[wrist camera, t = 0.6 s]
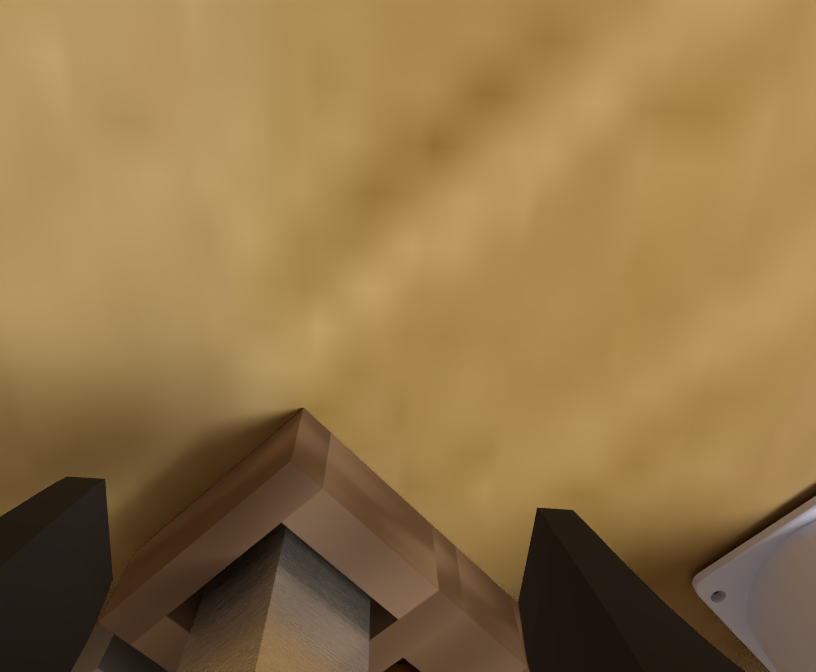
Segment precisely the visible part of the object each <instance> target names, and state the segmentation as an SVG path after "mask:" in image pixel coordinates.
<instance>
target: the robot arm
mask: <svg viewBox="0 0 816 672" xmlns="http://www.w3.org/2000/svg"><path fill="white" fill-rule="evenodd" d="M112 580H113V577H112V564H111V551H110V538H109V525H108V512H107V499H106V487H105V479H96V478H81V477H65V478H63V479H62V480H60V481H58V482H56V483H54V484H53V485H51V486H49V487H48V488H46V489H44V490H43V491H41V492H39V493H38V494H36V495H35V496H33V497H31V498H30V499H28V500H27V501H25V502H23V503H22V504H20V505H19V506H17V507H15V508H14V509H12V510H11V511H9V512H7V513H6V514H4V515H3V516H1V517H0V672H71V670H72V669H73V667H74V665H75V663H76V661H77V659H78V658H79V656H80V654H81V652H82V650H83V648H84V647H85V645H86V643H87V641H88V639H89V637H90V635H91V632H92V630H93V628H94V625H95V623H96V620H97V618H98V616H99V613H100V611H101V608H102V606H103V603H104V600H105V598H106V595H107V593H108V590H109V587H110V585H111V582H112ZM692 586H693V588H694V590H695V591H696V593H697V595H698V596H699V597H700V598H701V599H702V600H703V601H704V602H705V603H706V604H707V605H708V606H709V608H710V609H711V610H712V611H713V612H714V613H715V614H716V615H717V616H718V617H719V618H720V619H721V620H722V621H723V622H724V623H725V624H726V625H727V627H728V628H729V629H730V630H731V631H732V632H733V633H734V634H735V635H736V636H737V637H738V638H739V639H740V640H741V641H742V642H743V643H744V644H745V645H746V647H747V648H748V649H749V650H750V651H751V652H752V653H753V654H754V655H755V656H756V657H757V658H758V659H759V660H760V661H761V662H762V663H763V664H764V665H765V667H766V668H767V669H768V670H769V671H770V672H816V496H815V497H813V498H812V499H810V500H809V501H807V502H806V503H804V504H803V505H801V506H799V507H798V508H796V509H795V510H793V511H792V512H790V513H789V514H787V515H786V516H784V517H783V518H781V519H780V520H778V521H777V522H775V523H774V524H772V525H771V526H769V527H768V528H766V529H765V530H763V531H761V532H760V533H758V534H757V535H755V536H754V537H752V538H751V539H749V540H748V541H746V542H745V543H743V544H742V545H740V546H739V547H737V548H736V549H734V550H733V551H731V552H730V553H728V554H727V555H725V556H723V557H722V558H720V559H719V560H717V561H716V562H714V563H713V564H711V565H710V566H708V567H707V568H705V569H704V570H702V571H701V572H699V573H698V574H697V575H696V576H695V577H694V579H693V581H692ZM717 591H719V592H718V593H716V594H713V593H714V592H717ZM518 604H519V611H520V619H521V626H522V633H523V639H524V646H525V652H526V658H527V663H528V667H529V671H530V672H745V671H744V670H742V669H741V668H740V667H739V666H737V665H736V664H735V663H733V662H732V661H731V660H730V659H728V658H727V657H726V656H725V655H723V654H722V653H721V652H720V651H719V650H717V649H716V648H715V647H714V646H713V645H711V644H710V643H709V642H708V641H707V640H706V639H704V638H703V637H702V636H701V635H700V634H699V633H698V632H697V631H695V630H694V629H693V628H692V627H691V626H690V625H689V624H688V623H686V622H685V621H684V620H683V619H682V618H681V617H680V616H679V615H677V614H676V613H675V612H674V611H673V610H672V609H671V608H670V607H669V606H668V605H667V604H666V603H665V602H663V601H662V600H661V599H660V598H659V597H658V596H657V595H656V594H655V593H654V592H653V591H652V590H651V589H650V588H649V587H648V586H647V585H646V584H645V583H644V582H643V581H642V580H641V579H640V578H639V577H638V576H637V575H636V574H635V573H634V572H633V571H632V570H631V569H630V568H629V567H628V566H627V565H626V564H625V563H624V562H623V561H622V560H621V559H620V558H619V557H618V556H617V555H616V554H615V553H614V552H613V551H612V550H611V549H610V548H609V547H608V546H607V545H606V544H605V543H604V542H603V540H602V539H601V538H600V537H599V536H598V535H597V534H596V533H595V532H594V531H593V530H592V529H591V528H590V527H589V526H588V525H587V524H586V523H585V522H584V521H583V520H582V519H581V518H580V517H579V516H578V515H577V514H576V513H575V512H574V511H573V510H564V509H549V508H537V512H536V517H535V522H534V527H533V532H532V537H531V542H530V547H529V552H528V556H527V561H526V566H525V571H524V576H523V581H522V586H521V591H520V596H519V601H518Z"/></svg>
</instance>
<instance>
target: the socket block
mask: <svg viewBox="0 0 816 672" xmlns="http://www.w3.org/2000/svg"><path fill="white" fill-rule="evenodd" d="M280 523H283V524H284V525H285V526H286V527H287V528H289V529H290V530H291V531H292V532H294V533H295V534H296V535H297V536H298V537H300V538H301V539H302V540H303V541H304V542H306V543H307V544H308V545H309V546H310V547H312V548H313V549H314V550H315V551H316V552H318V553H319V554H320V555H321V556H322V557H324V558H325V559H326V560H327V561H328V562H330V563H331V564H332V565H333V566H334V567H336V568H337V569H338V570H339V571H340V572H342V573H343V574H344V575H345V576H347V577H348V578H349V579H350V580H351V581H353V582H354V583H355V584H356V585H357V586H359V587H360V588H361V589H362V590H363V591H365V592H366V593H367V594H368V595H369V596H370V629H369V667H368V672H383V671H384V670H386V669H387V668H389V667H390V666H392V665H393V664H394V663H396V662H397V661H399V660H400V659H401V658H404V659H406V660H407V661H408V662H409V663H411V664H412V665H413V666H414V667H416V668H417V669H418V670H419V671H421V672H530V671H529V667H528V663H527V658H526V652H525V646H524V639H523V633H522V626H521V619H520V611H519V604H518V603H517V602H516V601H515V600H514V599H512V598H511V597H510V596H509V595H508V594H507V593H506V592H505V591H504V590H503V589H501V588H500V587H499V586H498V585H497V584H496V583H495V582H494V581H493V580H492V579H490V578H489V577H488V576H487V575H486V574H485V573H484V572H483V571H482V570H481V569H480V568H478V567H477V566H476V565H475V564H474V563H473V562H472V561H471V560H470V559H469V558H467V557H466V556H465V555H464V554H463V553H462V552H461V551H460V550H459V549H458V548H457V547H455V546H454V545H453V544H452V543H451V542H450V541H449V540H448V539H447V538H446V537H444V536H443V535H442V534H441V533H440V532H439V531H438V530H437V529H436V528H435V527H433V526H432V525H431V524H430V523H429V522H428V521H427V520H426V519H425V518H424V517H423V516H421V515H420V514H419V513H418V512H417V511H416V510H415V509H414V508H413V507H412V506H410V505H409V504H408V503H407V502H406V501H405V500H404V499H403V498H402V497H401V496H399V495H398V494H397V493H396V492H395V491H394V490H393V489H392V488H391V487H390V486H389V485H387V484H386V483H385V482H384V481H383V480H382V479H381V478H380V477H379V476H378V475H376V474H375V473H374V472H373V471H372V470H371V469H370V468H369V467H368V466H367V465H366V464H364V463H363V462H362V461H361V460H360V459H359V458H358V457H357V456H356V455H355V454H353V453H352V452H351V451H350V450H349V449H348V448H347V447H346V446H345V445H344V444H342V443H341V442H340V441H339V440H338V439H337V438H336V437H335V436H334V435H333V434H332V433H330V432H329V431H328V430H327V429H326V428H325V427H324V426H323V425H322V424H321V423H319V422H318V421H317V420H316V419H315V418H314V417H313V416H312V415H311V414H310V413H309V412H307V411H306V410H305V409H304V408H303V409H302V410H301V411H300V412H298V413H297V414H296V415H295V416H294V417H293V418H291V419H290V420H289V421H288V422H287V423H286V424H284V425H283V426H282V427H281V428H280V429H279V430H277V431H276V432H275V433H274V434H273V435H272V436H270V437H269V438H268V439H267V440H266V441H265V442H263V443H262V444H261V445H260V446H259V447H258V448H256V449H255V450H254V451H253V452H252V453H251V454H249V455H248V456H247V457H246V458H245V459H244V460H242V461H241V462H240V463H239V464H238V465H237V466H235V467H234V468H233V469H232V470H231V471H230V472H228V473H227V474H226V475H225V476H224V477H223V478H221V479H220V480H219V481H218V482H217V483H216V484H214V485H213V486H212V487H211V488H210V489H209V490H207V491H206V492H205V493H204V494H203V495H202V496H200V497H199V498H198V499H197V500H196V501H195V502H193V503H192V504H191V505H190V506H189V507H188V508H186V509H185V510H184V511H183V512H182V513H181V514H179V515H178V516H177V517H176V518H175V519H174V520H172V521H171V522H170V523H169V524H168V525H167V526H165V527H164V528H163V529H162V530H161V531H160V532H158V533H157V534H156V535H155V536H154V537H153V538H151V539H150V540H149V541H148V542H147V543H146V544H144V545H143V546H142V547H141V548H140V549H139V550H137V551H136V552H135V553H134V554H133V556H132V558H131V560H130V562H129V564H128V566H127V568H126V570H125V572H124V573H123V575H122V577H121V579H120V581H119V583H118V585H117V587H116V589H115V591H114V593H113V595H112V596H111V598H110V600H109V602H108V604H107V606H106V608H105V610H104V612H103V614H102V616H101V618H100V619H99V621H98V623H99V624H101V625H102V626H104V627H105V628H107V629H108V630H109V631H111V632H112V633H114V634H115V635H117V636H118V637H120V638H121V639H122V640H124V641H125V642H127V643H128V644H130V645H131V646H133V647H134V648H135V649H137V650H138V651H140V652H141V653H143V654H144V655H146V656H147V657H148V658H150V659H151V660H153V661H154V662H156V663H157V664H159V665H160V666H161V667H163V668H164V669H166V670H167V671H169V672H176V671H177V668H178V666H179V663H180V660H181V657H182V654H183V651H184V648H185V645H186V643H187V640H188V637H189V634H190V631H191V628H192V625H193V622H194V620H195V617H196V614H197V611H198V608H199V605H200V602H201V599H202V597H203V594H204V591H205V588H206V585H207V582H209V581H210V580H211V579H212V578H214V577H215V576H216V575H217V574H218V573H220V572H221V571H222V570H223V569H225V568H226V567H227V566H228V565H230V564H231V563H232V562H233V561H234V560H236V559H237V558H238V557H239V556H241V555H242V554H243V553H244V552H246V551H247V550H248V549H249V548H250V547H252V546H253V545H254V544H255V543H257V542H258V541H259V540H260V539H262V538H263V537H264V536H265V535H266V534H268V533H269V532H270V531H271V530H273V529H274V528H275V527H276V526H278V525H279V524H280Z"/></svg>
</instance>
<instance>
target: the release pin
mask: <svg viewBox="0 0 816 672" xmlns="http://www.w3.org/2000/svg"><path fill="white" fill-rule="evenodd" d="M383 672H421V671H419V670H418V669H417V668H416V667H414V666H413V665H409V664H393V665H392V666H390V667H389V668H387V669H386V670H384V671H383Z"/></svg>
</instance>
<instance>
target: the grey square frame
mask: <svg viewBox="0 0 816 672" xmlns="http://www.w3.org/2000/svg"><path fill="white" fill-rule="evenodd" d="M71 672H169V671H167V670H166V669H164V668H163V667H161V666H160V665H159V664H157V663H156V662H154V661H153V660H151V659H150V658H148V657H147V656H146V655H144V654H143V653H141V652H140V651H138V650H137V649H135V648H134V647H133V646H131V645H130V644H128V643H127V642H125V641H124V640H122V639H121V638H120V637H118V636H117V635H115V634H114V633H112V632H111V631H109V630H108V629H107V628H105V627H104V626H102V625H101V624H98V625H96V626H95V627H94V628H93V630H92V632H91V635H90V637H89V639H88V641H87V643H86V645H85V647H84V648H83V650H82V652H81V654H80V656H79V658H78V659H77V661H76V663H75V665H74V667H73V669H72V670H71Z"/></svg>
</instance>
